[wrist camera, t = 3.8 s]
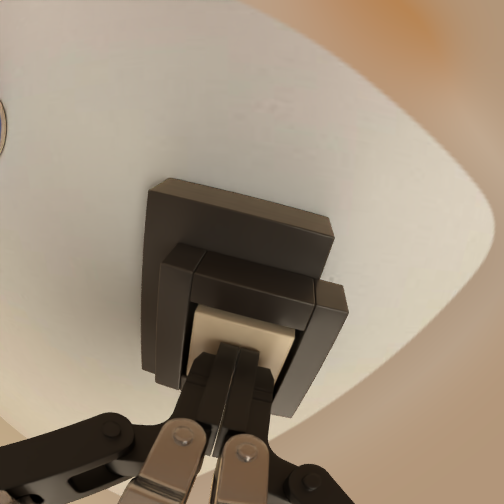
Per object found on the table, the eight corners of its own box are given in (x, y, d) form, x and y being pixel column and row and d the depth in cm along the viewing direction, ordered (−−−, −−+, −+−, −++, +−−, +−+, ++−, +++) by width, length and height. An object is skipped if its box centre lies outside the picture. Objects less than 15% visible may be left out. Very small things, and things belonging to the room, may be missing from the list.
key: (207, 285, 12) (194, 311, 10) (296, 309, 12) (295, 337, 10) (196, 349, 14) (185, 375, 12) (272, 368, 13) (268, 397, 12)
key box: (169, 177, 13) (124, 203, 9) (350, 223, 13) (370, 267, 9) (155, 344, 17) (129, 393, 14) (285, 379, 17) (280, 435, 13)
